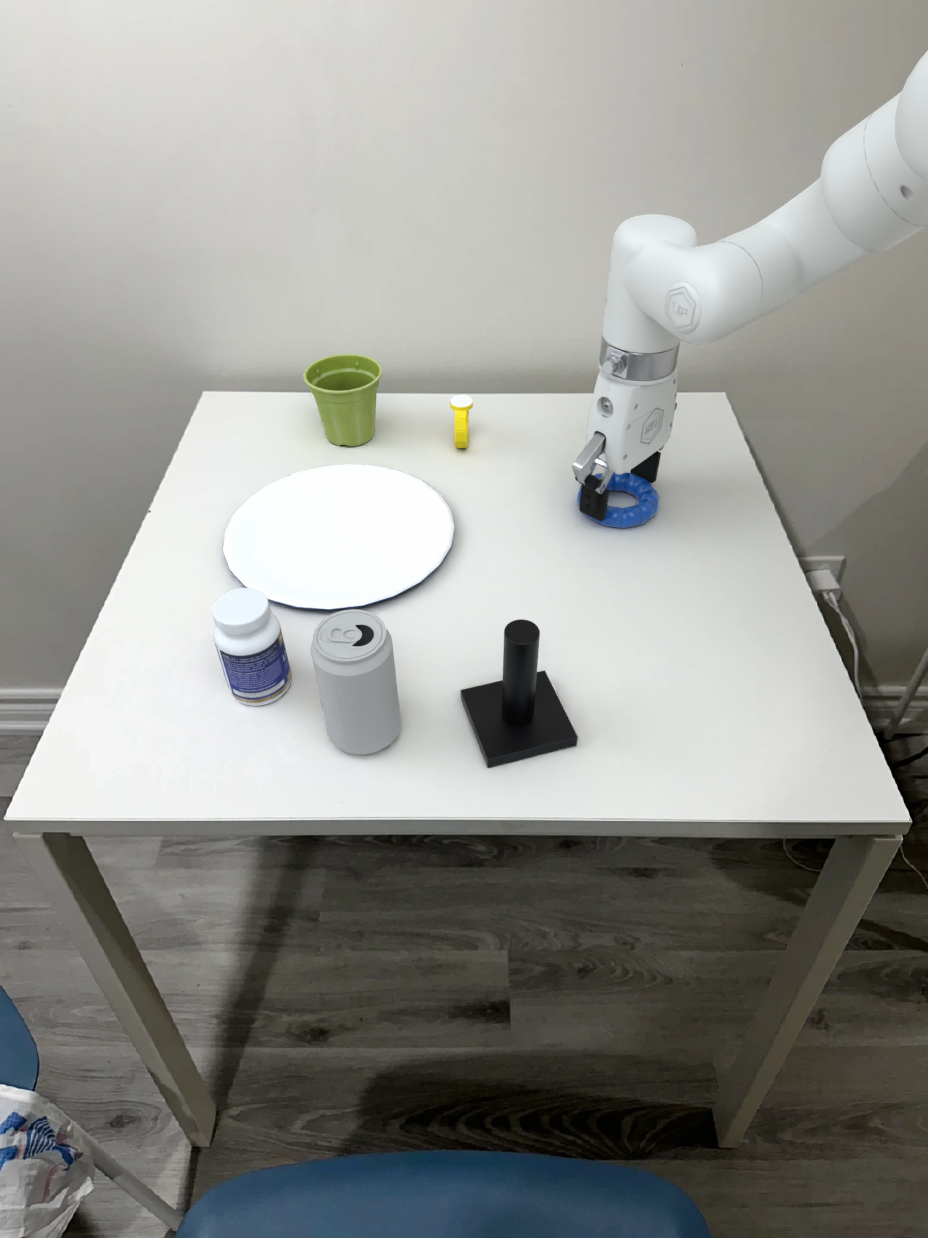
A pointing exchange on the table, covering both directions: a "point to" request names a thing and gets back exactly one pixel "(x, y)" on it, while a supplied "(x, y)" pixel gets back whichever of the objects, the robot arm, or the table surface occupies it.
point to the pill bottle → (250, 647)
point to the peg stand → (518, 704)
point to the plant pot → (345, 396)
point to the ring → (632, 513)
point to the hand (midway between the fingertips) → (618, 496)
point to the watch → (461, 418)
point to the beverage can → (356, 681)
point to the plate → (339, 536)
